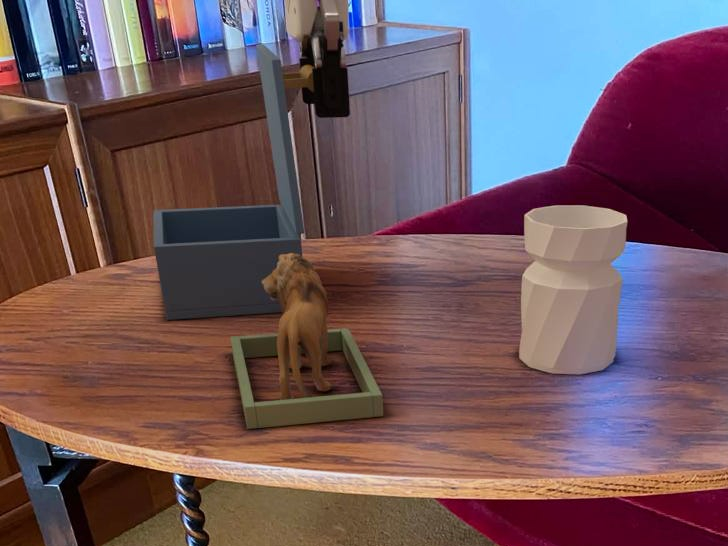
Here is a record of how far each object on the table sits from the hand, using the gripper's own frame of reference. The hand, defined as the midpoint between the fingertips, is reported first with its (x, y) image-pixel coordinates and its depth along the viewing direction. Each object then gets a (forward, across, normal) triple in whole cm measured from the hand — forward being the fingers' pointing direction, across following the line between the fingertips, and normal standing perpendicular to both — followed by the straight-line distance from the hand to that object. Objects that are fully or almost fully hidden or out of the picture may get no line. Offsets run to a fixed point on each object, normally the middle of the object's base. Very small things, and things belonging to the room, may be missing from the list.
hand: (325, 109), depth 95 cm
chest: (+17, 0, -11) cm, 20 cm away
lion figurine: (+17, +26, -7) cm, 32 cm away
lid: (+2, 0, -5) cm, 6 cm away
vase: (+17, +27, +17) cm, 36 cm away
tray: (+17, +28, -7) cm, 34 cm away
